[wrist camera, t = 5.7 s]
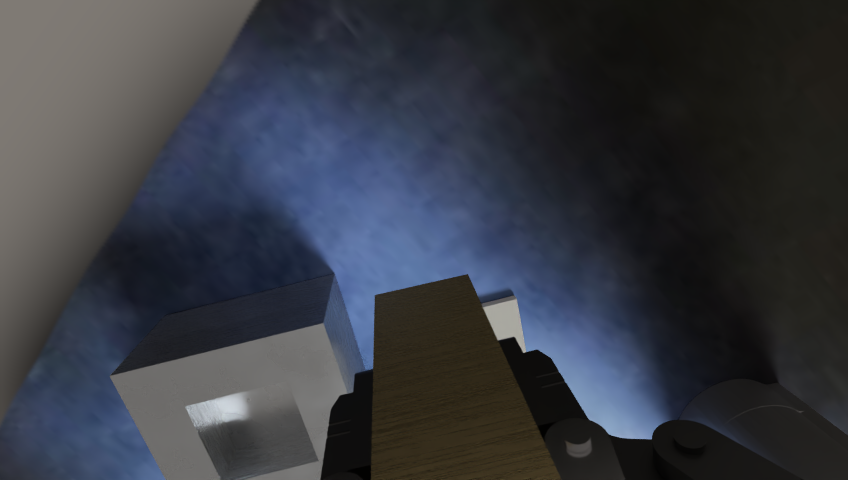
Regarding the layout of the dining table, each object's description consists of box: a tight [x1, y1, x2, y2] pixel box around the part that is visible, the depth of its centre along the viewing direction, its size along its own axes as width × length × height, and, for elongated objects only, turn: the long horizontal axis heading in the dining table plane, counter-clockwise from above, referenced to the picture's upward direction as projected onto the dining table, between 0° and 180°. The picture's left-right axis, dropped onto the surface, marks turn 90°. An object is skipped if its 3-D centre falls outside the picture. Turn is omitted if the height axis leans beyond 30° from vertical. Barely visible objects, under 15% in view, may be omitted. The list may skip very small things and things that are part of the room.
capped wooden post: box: [371, 274, 561, 480], centre depth 11 cm, size 4×4×11 cm
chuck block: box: [110, 274, 366, 480], centre depth 31 cm, size 14×12×7 cm
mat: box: [482, 296, 526, 353], centre depth 35 cm, size 10×8×1 cm
